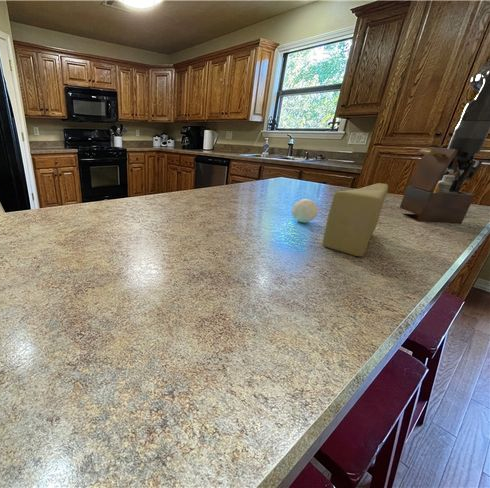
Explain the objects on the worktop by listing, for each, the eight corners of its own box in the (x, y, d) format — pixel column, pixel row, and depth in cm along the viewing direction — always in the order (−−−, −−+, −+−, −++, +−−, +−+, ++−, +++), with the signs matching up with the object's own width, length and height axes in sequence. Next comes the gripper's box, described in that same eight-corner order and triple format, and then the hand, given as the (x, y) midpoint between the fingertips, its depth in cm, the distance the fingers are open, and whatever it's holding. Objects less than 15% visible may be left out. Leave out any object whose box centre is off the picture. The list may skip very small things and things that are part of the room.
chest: (435, 213, 100) (446, 187, 96) (461, 223, 89) (475, 194, 85) (397, 212, 102) (407, 186, 98) (418, 221, 91) (430, 193, 87)
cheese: (351, 228, 84) (365, 180, 78) (388, 238, 77) (408, 185, 71) (319, 245, 71) (333, 189, 65) (361, 258, 64) (382, 197, 58)
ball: (294, 229, 90) (282, 209, 89) (306, 217, 94) (295, 198, 93) (315, 225, 84) (302, 203, 83) (327, 212, 87) (315, 191, 86)
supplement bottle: (434, 203, 97) (446, 174, 93) (454, 206, 92) (467, 176, 88) (424, 204, 95) (436, 174, 91) (444, 208, 90) (457, 177, 86)
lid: (430, 147, 92) (415, 144, 92) (458, 149, 82) (441, 146, 82) (408, 185, 98) (394, 182, 98) (432, 191, 87) (416, 188, 87)
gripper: (505, 137, 77) (477, 195, 84) (463, 136, 90) (442, 186, 97) (475, 137, 79) (450, 194, 85) (438, 136, 92) (419, 185, 98)
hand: (446, 189), depth 91 cm, fingers closed on supplement bottle, 5 cm apart
